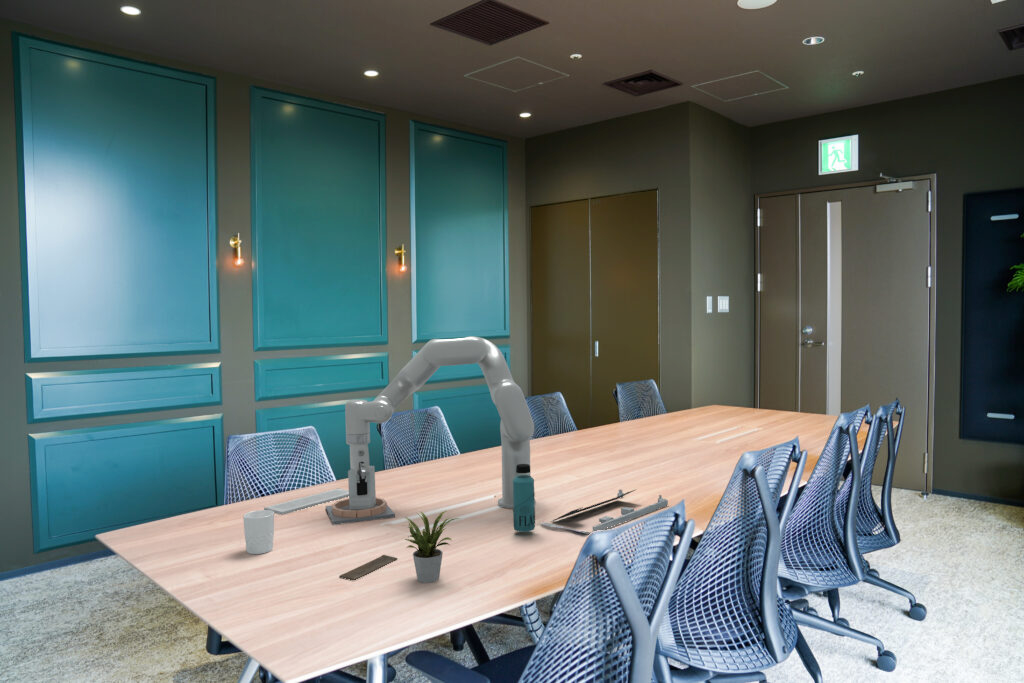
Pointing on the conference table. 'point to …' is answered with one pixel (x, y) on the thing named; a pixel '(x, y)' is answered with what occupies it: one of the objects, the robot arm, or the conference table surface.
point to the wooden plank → (368, 567)
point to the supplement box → (362, 500)
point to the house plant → (427, 549)
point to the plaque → (308, 501)
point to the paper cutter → (610, 521)
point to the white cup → (259, 531)
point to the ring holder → (358, 512)
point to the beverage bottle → (523, 500)
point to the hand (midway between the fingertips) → (359, 491)
